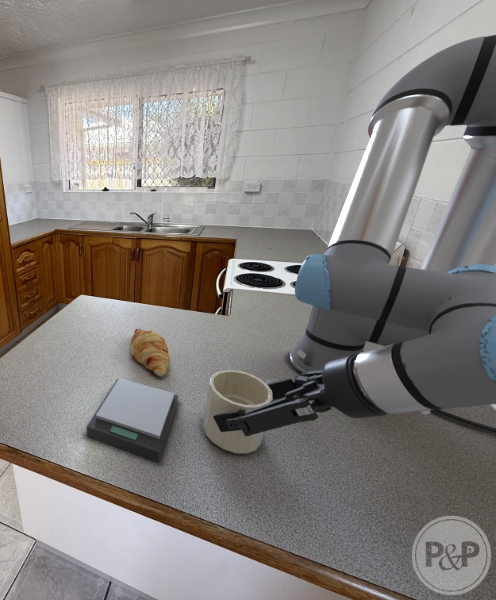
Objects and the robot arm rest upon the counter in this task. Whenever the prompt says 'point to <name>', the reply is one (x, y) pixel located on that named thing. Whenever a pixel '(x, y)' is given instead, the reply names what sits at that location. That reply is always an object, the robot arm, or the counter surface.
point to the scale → (134, 418)
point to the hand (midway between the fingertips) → (242, 407)
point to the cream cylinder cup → (234, 407)
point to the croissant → (150, 351)
